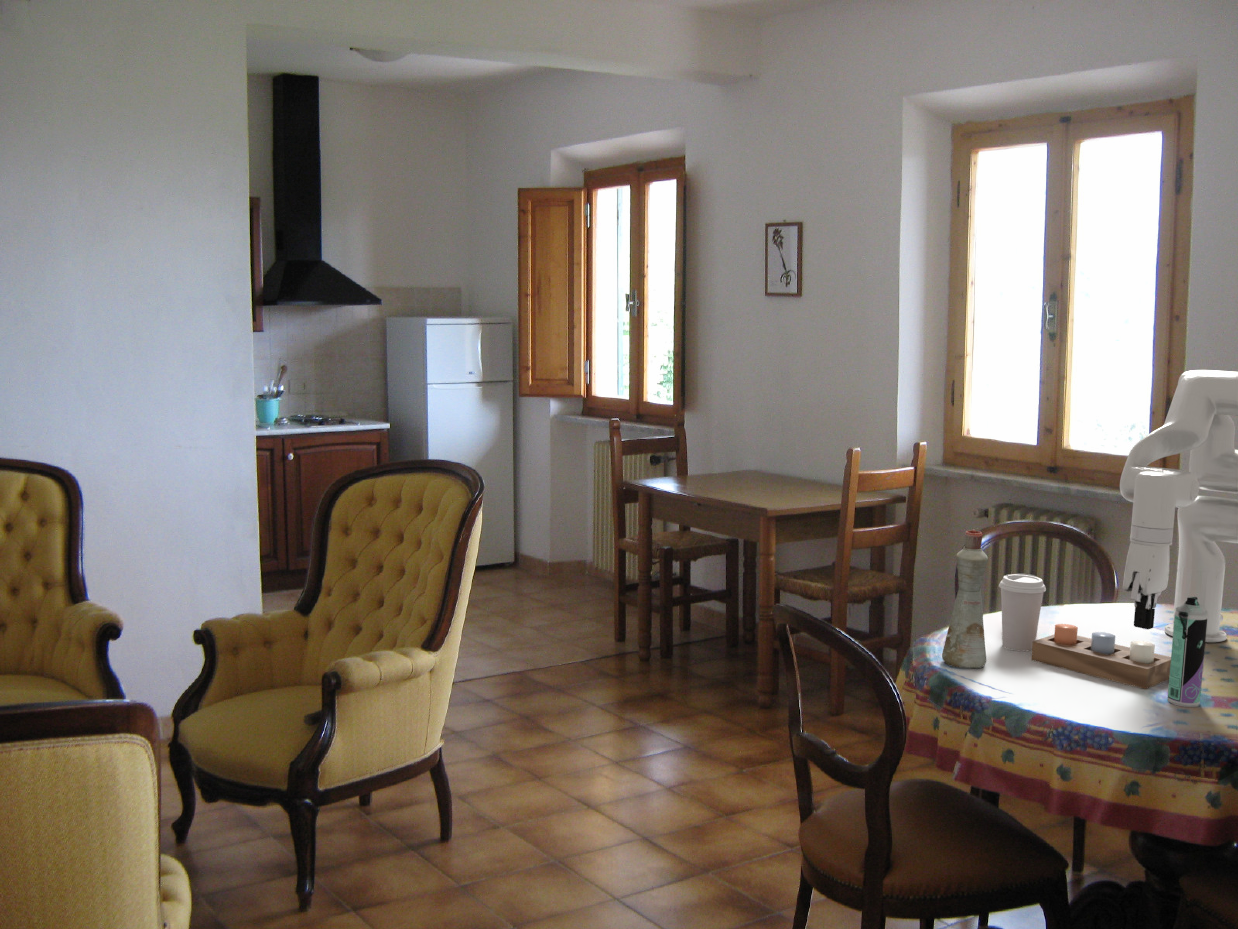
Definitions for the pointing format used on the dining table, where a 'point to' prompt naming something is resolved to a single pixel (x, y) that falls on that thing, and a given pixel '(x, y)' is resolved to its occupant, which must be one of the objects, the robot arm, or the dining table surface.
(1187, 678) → the spray can
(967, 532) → the bottle
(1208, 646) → the dining table surface
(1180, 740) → the dining table surface
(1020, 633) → the coffee cup
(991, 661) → the dining table surface
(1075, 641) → the rust egg
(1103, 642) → the blue-grey egg
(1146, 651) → the cream cylinder
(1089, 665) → the wooden egg holder
